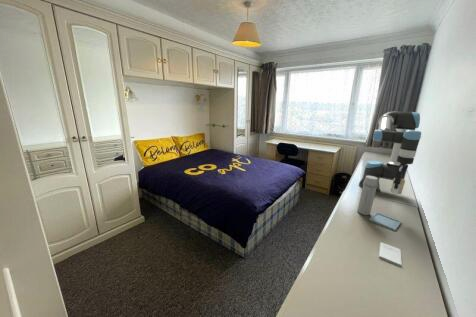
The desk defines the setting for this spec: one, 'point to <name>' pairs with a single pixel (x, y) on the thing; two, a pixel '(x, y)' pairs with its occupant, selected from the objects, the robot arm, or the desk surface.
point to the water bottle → (367, 195)
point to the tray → (385, 221)
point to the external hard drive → (390, 254)
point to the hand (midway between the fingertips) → (396, 191)
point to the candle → (400, 186)
